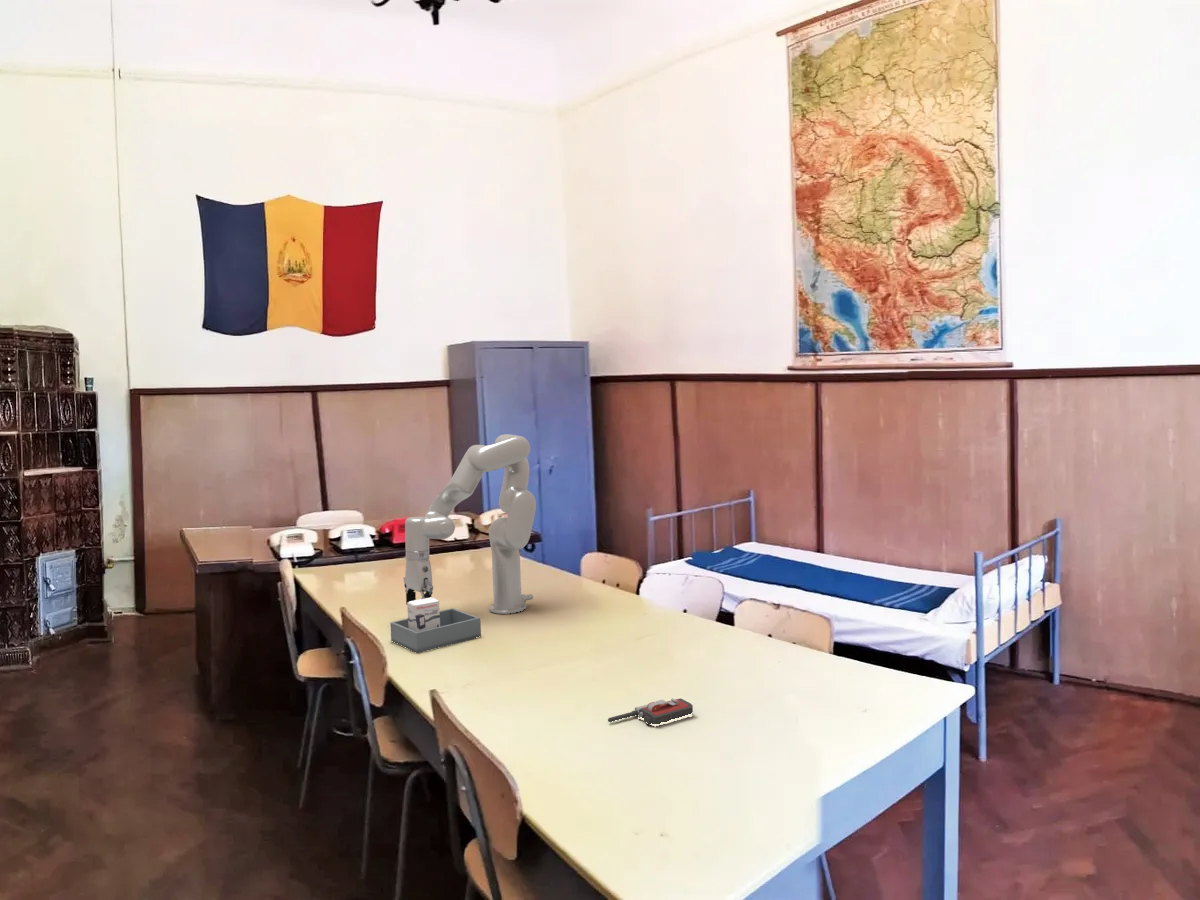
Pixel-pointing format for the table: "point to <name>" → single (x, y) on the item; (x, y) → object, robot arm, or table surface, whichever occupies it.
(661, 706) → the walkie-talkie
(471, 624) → the tote
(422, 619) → the ink box
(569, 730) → the table surface
